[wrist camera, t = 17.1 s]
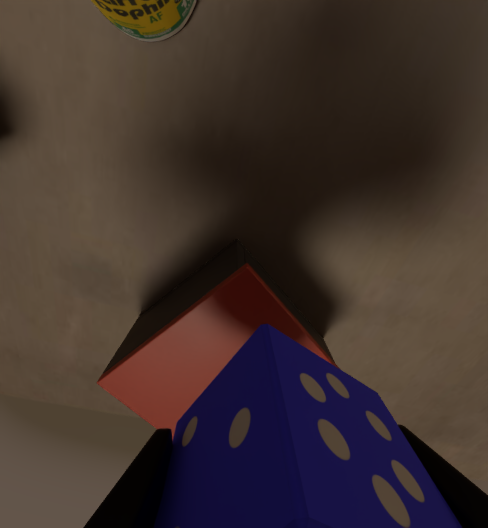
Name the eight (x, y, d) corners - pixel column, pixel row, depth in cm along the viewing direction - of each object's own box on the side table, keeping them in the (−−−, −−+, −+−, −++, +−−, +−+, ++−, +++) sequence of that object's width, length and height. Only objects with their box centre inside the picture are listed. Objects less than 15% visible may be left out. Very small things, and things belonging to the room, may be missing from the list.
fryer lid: (247, 261, 12) (247, 266, 12) (362, 394, 15) (367, 403, 15) (101, 374, 14) (95, 383, 14) (228, 473, 17) (227, 483, 17)
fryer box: (237, 237, 18) (237, 269, 13) (323, 338, 21) (353, 399, 16) (138, 317, 20) (101, 374, 14) (230, 399, 23) (227, 472, 17)
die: (286, 473, 11) (328, 720, 6) (175, 421, 9) (117, 674, 5) (378, 391, 9) (526, 622, 5) (263, 318, 8) (303, 527, 3)
